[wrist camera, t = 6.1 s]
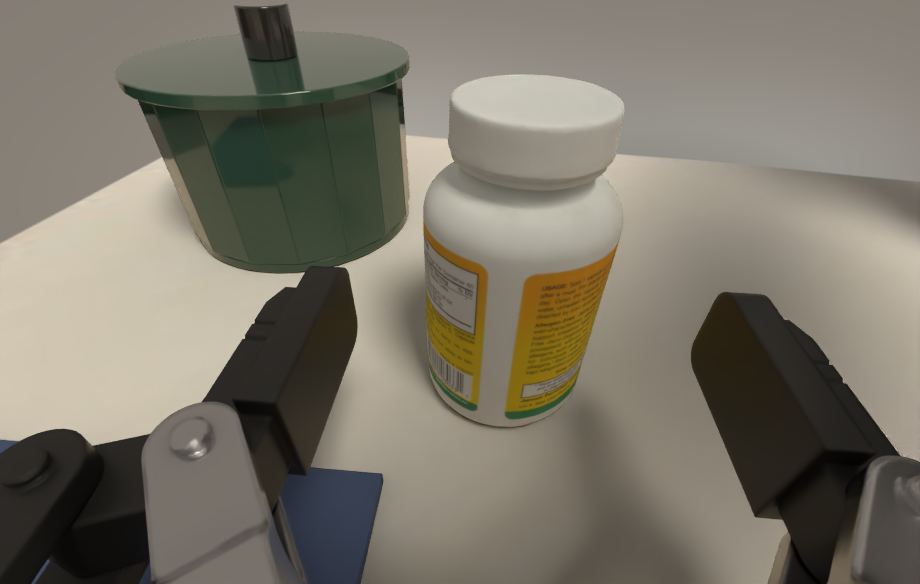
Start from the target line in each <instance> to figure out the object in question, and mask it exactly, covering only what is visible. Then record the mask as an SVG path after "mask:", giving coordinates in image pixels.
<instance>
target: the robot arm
mask: <svg viewBox="0 0 920 584" xmlns="http://www.w3.org/2000/svg"><path fill="white" fill-rule="evenodd" d="M356 337H357V315H356V310H355V305H354V299H353V294H352V289H351V283H350V278H349V274H348V271H347V269H346V268H340V267H324V266H310V267H309V268H308V269H307V270H306V272H305V274H304V276H303V277H302V279H301V281H300V282H299V284H298V286H297V288H292V287H285V288H284V289H283V290H281V291H280V292H279V293H277V294H276V295H275V296H274V297H272V298H271V299H270V300H268V301H267V302H266V303H265V305H264V307H263V308H262V310H261V311H260V313H259V314H258V316H257V317H256V319H255V324H252V325H251V327H250V328H249V330H248V331H247V333H246V335H245V339H242V341H241V342H240V344H239V345H238V347H237V349H236V350H235V352H234V353H233V355H232V356H231V358H230V359H229V361H228V363H227V364H226V366H225V367H224V369H223V370H222V372H221V373H220V375H219V377H218V378H217V380H216V381H215V383H214V384H213V386H212V387H211V389H210V391H209V392H208V394H207V395H206V397H205V398H204V399H203V401H202V402H201V403H197V404H193V405H190V406H187V407H185V408H183V409H180V410H178V411H177V412H175V413H173V414H172V415H170V416H169V417H167V418H166V419H165V420H163V421H162V422H161V423H160V424H159V425H158V426H157V427H156V428H155V429H154V430H153V432H152V433H151V434H148V435H143V436H138V437H134V438H129V439H124V440H119V441H114V442H109V443H104V444H99V445H95V446H92V445H91V444H90V443H89V442H88V441H87V440H86V439H85V438H84V437H83V436H82V435H81V434H79V433H78V432H76V431H73V430H69V429H54V430H49V431H44V432H41V433H37V434H35V435H32V436H30V437H27V438H25V439H23V440H21V441H19V442H17V443H16V444H14V445H12V446H11V447H9V448H7V449H6V450H5V451H3V452H2V453H0V584H31V583H32V582H33V580H34V579H35V577H36V576H37V574H38V573H39V571H40V570H41V568H42V567H43V565H44V564H45V562H46V561H47V560H50V562H49V563H48V565H47V566H46V568H45V569H44V571H43V572H42V574H41V575H40V577H39V578H38V580H37V581H36V583H35V584H139V582H140V581H141V579H142V577H143V575H144V573H145V571H146V569H147V567H148V565H149V563H150V566H151V581H150V584H309V581H308V578H307V575H306V572H305V569H304V566H303V563H302V560H301V556H300V553H299V550H298V547H297V544H296V541H295V538H294V535H293V532H292V529H291V526H290V522H289V519H288V516H287V513H286V510H285V507H284V504H283V501H282V498H281V495H280V492H281V490H282V487H283V485H284V482H285V480H286V477H287V475H288V474H293V475H304V476H307V474H308V471H309V469H310V466H311V463H312V460H313V458H314V455H315V452H316V449H317V447H318V444H319V441H320V438H321V436H322V433H323V430H324V427H325V425H326V422H327V419H328V416H329V414H330V411H331V408H332V406H333V403H334V400H335V397H336V395H337V392H338V389H339V386H340V384H341V381H342V378H343V375H344V373H345V370H346V367H347V364H348V362H349V359H350V356H351V353H352V351H353V348H354V345H355V342H356ZM691 363H692V368H693V371H694V373H695V376H696V378H697V380H698V383H699V385H700V387H701V390H702V392H703V395H704V397H705V399H706V402H707V404H708V406H709V409H710V411H711V414H712V416H713V418H714V421H715V423H716V425H717V428H718V430H719V433H720V435H721V437H722V440H723V442H724V444H725V447H726V449H727V452H728V454H729V456H730V459H731V461H732V463H733V466H734V468H735V471H736V473H737V475H738V478H739V480H740V482H741V485H742V487H743V490H744V492H745V494H746V497H747V499H748V501H749V504H750V506H751V509H752V511H753V513H754V516H755V517H758V518H770V519H781V520H783V521H784V523H785V525H786V527H787V530H788V533H786V534H785V535H784V536H783V538H782V539H781V542H780V544H779V548H778V551H777V554H776V557H775V561H774V564H773V567H772V570H771V574H770V577H769V580H768V583H767V584H920V462H919V461H916V460H913V459H910V458H906V457H902V456H900V455H899V454H898V452H897V451H896V450H895V448H894V447H893V446H892V444H891V443H890V441H889V440H888V439H887V437H886V436H885V435H884V433H883V432H882V431H881V429H880V428H879V427H878V425H877V424H876V423H875V421H874V420H873V419H872V417H871V416H870V415H869V413H868V412H867V411H866V409H865V408H864V407H863V405H862V404H861V403H860V401H859V400H858V398H857V397H856V396H855V394H854V393H853V392H852V390H851V389H850V388H849V386H848V385H847V384H846V383H843V382H842V380H843V378H842V377H841V376H840V374H839V373H838V372H837V370H836V369H835V368H834V366H833V365H829V360H828V358H827V357H826V355H825V354H824V353H823V351H822V350H821V349H820V347H819V346H818V345H817V343H816V342H815V341H814V339H812V338H811V337H810V336H809V335H807V334H806V333H805V332H803V331H802V330H801V329H800V328H798V327H797V326H796V325H795V324H793V323H792V322H791V321H789V320H784V319H783V317H782V316H781V315H780V313H779V312H778V310H777V309H776V308H775V306H774V305H773V303H772V302H771V300H770V299H769V298H768V297H767V296H765V295H763V294H749V293H733V292H723V293H721V294H720V295H718V297H717V298H716V299H715V301H714V303H713V305H712V307H711V309H710V311H709V313H708V315H707V317H706V319H705V321H704V323H703V324H702V326H701V328H700V330H699V332H698V334H697V336H696V338H695V340H694V342H693V345H692V350H691Z"/></svg>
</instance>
